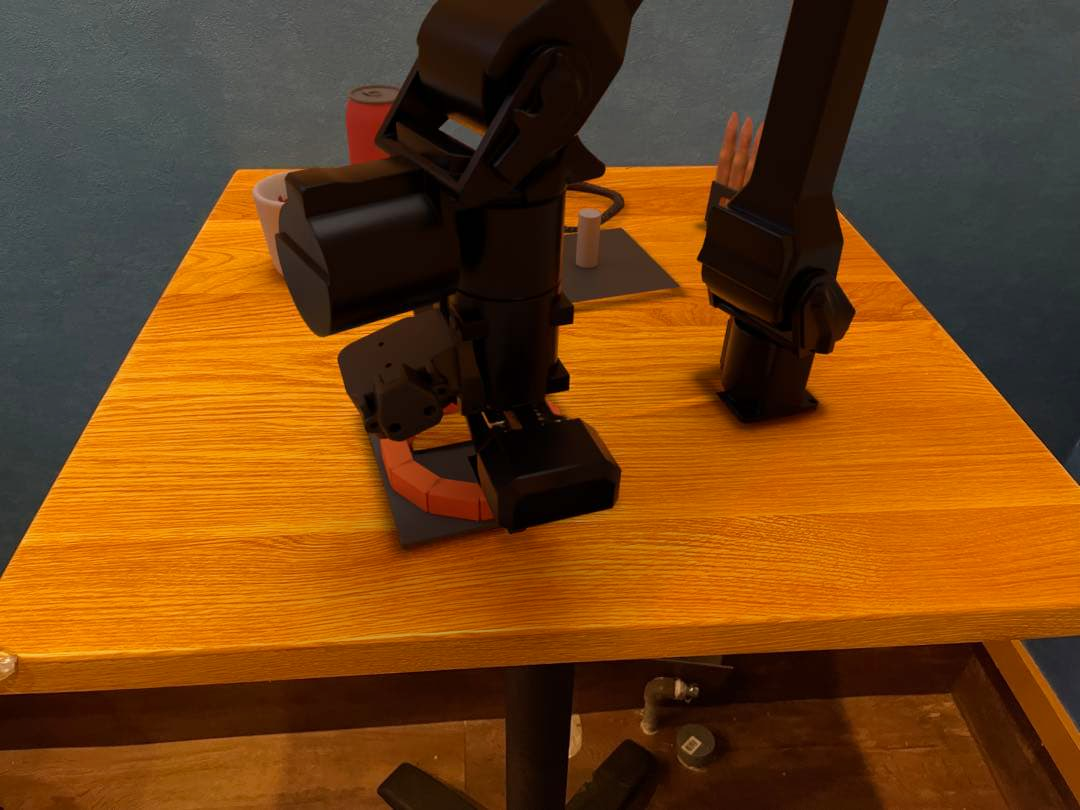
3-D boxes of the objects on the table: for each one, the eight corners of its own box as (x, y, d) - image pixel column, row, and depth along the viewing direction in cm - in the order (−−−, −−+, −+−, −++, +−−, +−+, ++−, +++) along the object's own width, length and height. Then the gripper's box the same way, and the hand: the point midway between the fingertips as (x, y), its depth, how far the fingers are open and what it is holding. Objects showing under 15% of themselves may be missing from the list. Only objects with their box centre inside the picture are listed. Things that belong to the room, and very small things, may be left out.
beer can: (386, 192, 90) (377, 78, 83) (431, 207, 87) (425, 91, 80) (342, 210, 86) (327, 92, 79) (387, 227, 83) (377, 106, 76)
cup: (337, 233, 81) (327, 154, 77) (396, 256, 78) (389, 174, 73) (248, 272, 74) (231, 188, 69) (309, 299, 71) (295, 212, 66)
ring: (599, 495, 51) (601, 475, 50) (406, 538, 48) (404, 518, 47) (534, 387, 60) (535, 369, 59) (369, 417, 57) (367, 398, 56)
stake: (680, 294, 73) (689, 234, 70) (543, 314, 70) (546, 252, 66) (621, 234, 83) (626, 179, 80) (498, 249, 80) (498, 192, 76)
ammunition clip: (796, 261, 79) (825, 138, 72) (783, 266, 79) (812, 142, 71) (714, 223, 86) (734, 107, 79) (702, 227, 85) (721, 110, 78)
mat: (607, 502, 51) (608, 497, 51) (402, 549, 48) (402, 544, 47) (538, 387, 61) (538, 383, 61) (364, 419, 57) (363, 414, 57)
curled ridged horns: (583, 149, 91) (651, 172, 85) (578, 196, 94) (644, 222, 88) (490, 165, 83) (559, 192, 77) (488, 216, 86) (554, 246, 80)
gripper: (315, 217, 45) (346, 436, 55) (377, 410, 31) (405, 661, 41) (506, 196, 49) (505, 407, 58) (641, 363, 35) (610, 606, 44)
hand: (503, 503), depth 50 cm, fingers open, 5 cm apart
